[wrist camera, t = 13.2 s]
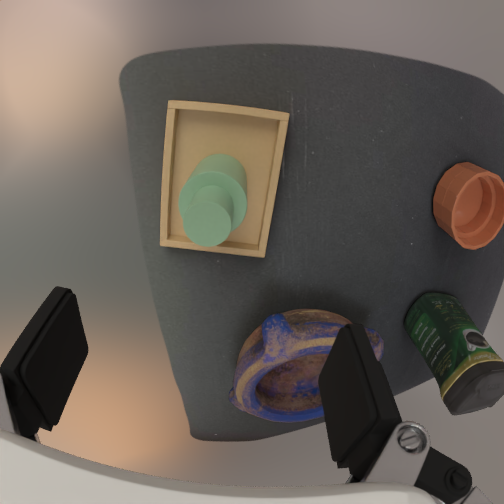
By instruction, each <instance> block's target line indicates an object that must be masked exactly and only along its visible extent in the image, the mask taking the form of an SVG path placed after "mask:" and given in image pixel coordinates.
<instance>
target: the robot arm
mask: <svg viewBox="0 0 504 504" xmlns="http://www.w3.org/2000/svg"><path fill="white" fill-rule="evenodd" d="M87 355H88V344H87V341H86V336H85V333H84V329H83V325H82V321H81V316H80V312H79V307H78V304H77V298H76V295H75V294H73V293H72V291H71V289H68V288H63V287H58V286H57V287H55V288H54V289H53V290H52V292H51V293H50V294H49V296H48V297H47V298H46V300H45V301H44V302H43V304H42V305H41V306H40V308H39V309H38V311H37V312H36V313H35V315H34V316H33V317H32V319H31V320H30V322H29V323H28V325H27V326H26V327H25V329H24V330H23V332H22V333H21V335H20V336H19V338H18V339H17V341H16V342H15V344H14V345H13V347H12V348H11V350H10V351H9V353H8V355H7V356H6V358H5V359H4V361H3V363H2V364H1V367H0V504H493V503H492V502H491V501H490V500H489V499H488V498H487V497H486V496H485V495H484V493H483V492H482V491H481V490H480V489H479V488H478V487H477V486H476V487H474V488H473V487H472V477H471V475H470V472H469V471H468V469H467V468H465V467H464V466H463V465H461V464H459V463H458V462H456V461H454V460H452V459H451V458H449V457H447V456H445V455H444V454H442V453H440V452H439V451H437V450H435V449H433V448H432V447H430V443H431V441H430V436H429V434H428V432H427V431H426V429H425V428H424V427H423V426H422V425H420V424H419V423H416V422H413V421H405V422H402V419H401V416H400V413H399V411H398V408H397V405H396V403H395V399H394V397H393V394H392V391H391V389H390V386H389V383H388V381H387V378H386V375H385V373H384V370H383V368H382V365H381V363H380V362H379V361H378V360H377V358H376V356H375V353H374V351H373V348H372V346H371V343H370V341H369V338H368V336H367V333H366V331H365V328H364V326H363V325H362V324H346V325H345V326H344V327H341V328H340V329H339V332H338V334H337V336H336V339H335V341H334V343H333V346H332V348H331V350H330V353H329V355H328V357H327V359H326V362H325V364H324V366H323V368H322V370H321V373H320V375H319V378H318V386H319V391H320V396H321V401H322V406H323V412H324V417H325V422H326V428H327V433H328V439H329V445H330V450H331V456H332V460H333V461H335V462H336V461H337V466H338V468H347V467H349V471H350V474H351V476H350V477H349V479H348V480H347V482H346V483H345V484H334V485H320V486H300V487H299V486H298V487H249V486H248V487H247V486H230V485H217V484H206V483H197V482H189V481H182V480H175V479H168V478H162V477H157V476H152V475H147V474H142V473H137V472H133V471H128V470H124V469H120V468H116V467H112V466H108V465H104V464H100V463H97V462H93V461H90V460H87V459H84V458H80V457H77V456H74V455H71V454H68V453H65V452H62V451H59V450H57V449H54V448H51V447H48V446H45V445H43V444H41V443H40V440H39V437H38V434H37V432H38V430H39V427H40V428H43V429H45V430H48V431H51V430H52V427H53V425H57V424H58V422H59V420H60V417H61V415H62V412H63V410H64V407H65V405H66V402H67V400H68V397H69V395H70V393H71V390H72V388H73V386H74V384H75V381H76V379H77V377H78V374H79V372H80V370H81V368H82V366H83V364H84V361H85V359H86V357H87Z"/></svg>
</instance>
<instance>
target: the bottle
mask: <svg viewBox="0 0 504 504" xmlns="http://www.w3.org/2000/svg"><path fill="white" fill-rule="evenodd" d="M178 206H179V212H180V215H181V217H182V219H183V228H184V231H185V233H186V235H187V237H188V238H189V239H190V240H191V241H193V242H194V243H196V244H198V245H201V246H205V247H211V246H216V245H218V244H220V243H222V242H223V241H225V240H226V239H227V237H228V236H229V234H230V232H232V231H234V230H235V229H236V228H237V227H238V226H239V225H240V224H241V223H242V221H243V220H244V218H245V215H246V212H247V176H246V172H245V169H244V167H243V166H242V164H241V163H240V162H239V161H238V160H237V159H235V158H234V157H232V156H230V155H226V154H213V155H210V156H208V157H206V158H204V159H203V160H202V161H200V162H199V164H198V165H197V166H196V168H195V169H194V171H193V172H192V174H191V175H190V177H189V178H188V180H187V182H186V183H185V185H184V186H183V188H182V190H181V192H180V195H179V200H178Z"/></svg>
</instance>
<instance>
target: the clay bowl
mask: <svg viewBox="0 0 504 504" xmlns="http://www.w3.org/2000/svg"><path fill="white" fill-rule="evenodd" d="M433 213H434V216H435V219H436V221H437V224H438V226H439V227H440V228H441V229H443V230H444V231H445V232H446V233H447V234H448V235H449V236H450V237H452V238H453V239H454V240H455V241H456V242H457V243H458V244H460V245H461V246H462V247H463V248H467V249H472V250H475V249H478V248H481V247H484V246H485V245H487V244H488V243H489V242H490V241H492V240H493V239H494V238H495V237H496V235H497V234H498V232H499V231H500V229H501V228H502V226H503V223H504V182H503V181H502V180H501V178H500V177H499V176H498V175H496V174H494V173H492V172H490V171H488V170H486V169H484V168H482V167H479V166H477V165H475V164H472V163H470V162H464V163H458V164H456V165H454V166H453V167H452V168H450V169H449V170H447V171H446V172H445V173H444V175H443V177H442V178H441V180H440V181H439V183H438V184H437V188H436V191H435V195H434V198H433Z"/></svg>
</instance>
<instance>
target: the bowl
mask: <svg viewBox="0 0 504 504" xmlns="http://www.w3.org/2000/svg"><path fill="white" fill-rule="evenodd" d="M346 324H353V323H351V322H350V321H349V320H348V319H346V318H344V317H342V316H341V315H339V314H336V313H332V312H329V311H326V310H319V309H296V310H291V311H286V312H283V313H280V314H278V313H277V314H273V315H270V316H269V317H267V318H266V319H265V320H264V322H263V323H262V324H261V325H260V326H259V327H257V328H256V329H255V330H254V331H253V333H252V334H251V335H250V336H249V337H248V338H247V340H246V341H245V343H244V344H243V346H242V348H241V351H240V353H239V356H238V360H237V367H236V370H235V375H234V379H233V386H234V387H233V388H232V389H231V390H230V392H229V400H230V402H231V403H232V404H233V405H235V406H236V407H237V408H239V409H240V410H241V411H244V412H247V413H250V414H252V415H254V416H256V417H260V418H263V419H267V420H270V421H276V422H301V421H307V420H311V419H315V418H319V417H322V416H324V412H323V406H322V401H321V396H320V391H319V386H318V378H319V375H320V373H321V370H322V368H323V366H324V364H325V362H326V359H327V357H328V355H329V353H330V350H331V348H332V346H333V343H334V341H335V339H336V336H337V334H338V332H339V329H340V328H341V327H344V326H345V325H346ZM364 328H365V331H366V333H367V336H368V338H369V341H370V343H371V346H372V348H373V351H374V353H375V356H376V358H377V360H378V361H380V359H381V358H382V355H383V350H384V341H383V340H382V338H381V336H380V335H379V334H378V333H377V332H376V331H375V330H373V329H369V328H366V327H364Z"/></svg>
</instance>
